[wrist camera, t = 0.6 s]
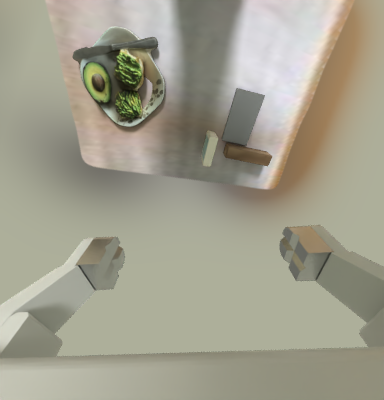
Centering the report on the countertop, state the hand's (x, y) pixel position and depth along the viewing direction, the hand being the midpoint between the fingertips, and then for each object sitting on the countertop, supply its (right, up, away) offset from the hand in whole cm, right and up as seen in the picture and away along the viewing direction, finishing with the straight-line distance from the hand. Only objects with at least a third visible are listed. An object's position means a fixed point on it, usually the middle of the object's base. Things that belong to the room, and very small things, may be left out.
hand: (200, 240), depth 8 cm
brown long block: (+15, +16, +40) cm, 45 cm away
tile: (+4, +18, +38) cm, 42 cm away
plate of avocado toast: (-17, +30, +31) cm, 46 cm away
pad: (+12, +23, +35) cm, 43 cm away
